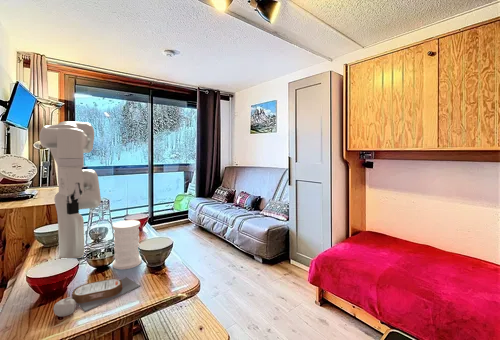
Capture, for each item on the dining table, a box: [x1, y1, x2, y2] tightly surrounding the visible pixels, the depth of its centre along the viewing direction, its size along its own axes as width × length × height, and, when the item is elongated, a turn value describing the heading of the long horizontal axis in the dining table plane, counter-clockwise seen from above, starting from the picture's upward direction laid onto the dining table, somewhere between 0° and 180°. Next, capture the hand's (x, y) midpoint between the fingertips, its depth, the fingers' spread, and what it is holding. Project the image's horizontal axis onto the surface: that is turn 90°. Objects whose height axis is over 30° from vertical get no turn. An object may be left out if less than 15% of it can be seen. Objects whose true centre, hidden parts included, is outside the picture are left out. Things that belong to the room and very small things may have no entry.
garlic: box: [53, 296, 77, 317], centre depth 75 cm, size 6×5×5 cm
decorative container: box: [112, 219, 143, 270], centre depth 108 cm, size 12×12×18 cm
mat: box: [76, 276, 141, 313], centre depth 86 cm, size 10×18×1 cm, turn 144°
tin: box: [71, 278, 123, 304], centre depth 85 cm, size 15×3×8 cm
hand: (73, 213), depth 89 cm, fingers closed
